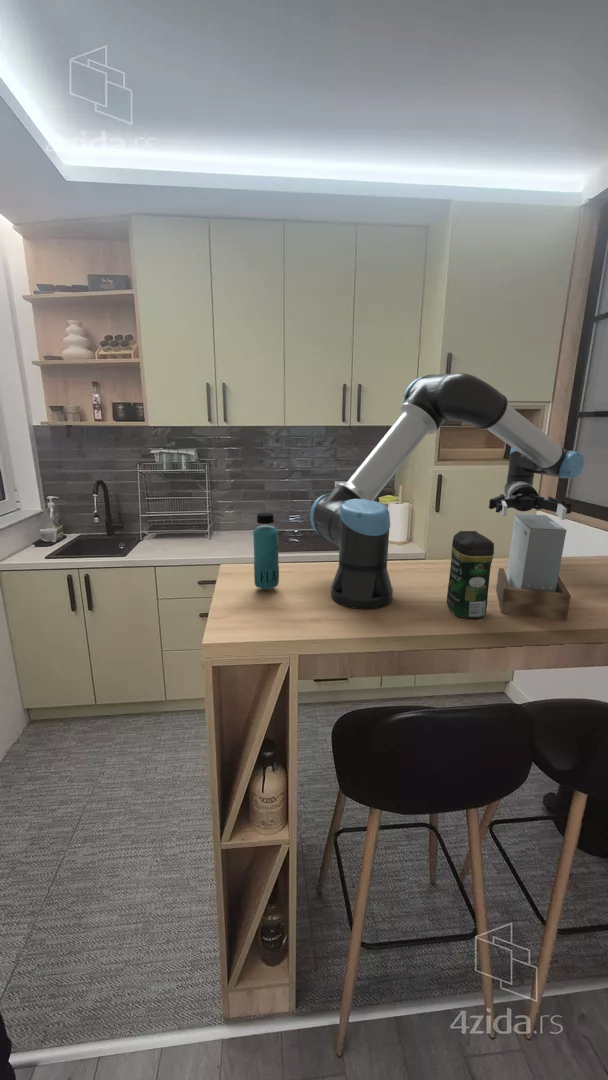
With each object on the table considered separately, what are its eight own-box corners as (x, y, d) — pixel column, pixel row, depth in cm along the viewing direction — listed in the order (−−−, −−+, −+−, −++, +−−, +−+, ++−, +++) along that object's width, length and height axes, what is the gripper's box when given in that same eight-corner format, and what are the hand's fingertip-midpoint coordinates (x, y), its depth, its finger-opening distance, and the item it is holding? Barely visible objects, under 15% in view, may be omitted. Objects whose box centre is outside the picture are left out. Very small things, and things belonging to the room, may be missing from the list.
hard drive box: (553, 614, 105) (567, 530, 99) (517, 611, 107) (529, 528, 101) (534, 588, 120) (546, 514, 114) (503, 586, 121) (513, 512, 115)
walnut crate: (501, 612, 106) (504, 588, 104) (495, 589, 119) (498, 568, 117) (566, 620, 102) (570, 595, 100) (553, 596, 115) (557, 573, 113)
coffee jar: (441, 602, 111) (448, 528, 106) (474, 602, 111) (483, 528, 106) (455, 620, 102) (464, 540, 96) (490, 620, 102) (501, 540, 97)
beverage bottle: (257, 595, 114) (255, 517, 108) (251, 586, 120) (249, 511, 115) (282, 592, 116) (281, 515, 111) (275, 583, 122) (274, 509, 117)
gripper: (567, 511, 134) (587, 530, 114) (476, 506, 141) (480, 523, 121) (572, 485, 131) (592, 500, 112) (479, 482, 139) (483, 495, 119)
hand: (534, 512), depth 117 cm, fingers open, 13 cm apart
